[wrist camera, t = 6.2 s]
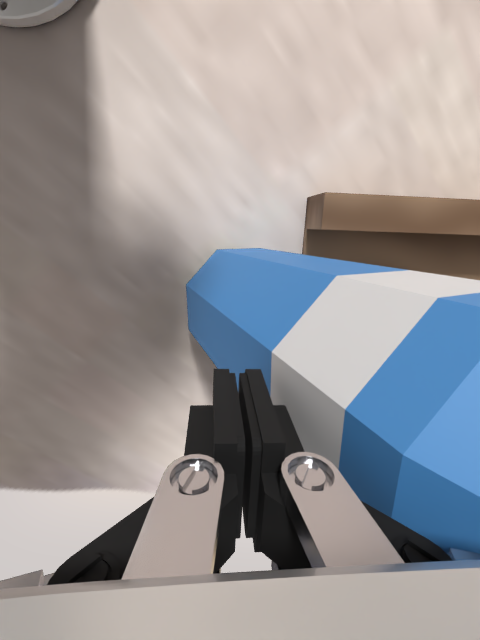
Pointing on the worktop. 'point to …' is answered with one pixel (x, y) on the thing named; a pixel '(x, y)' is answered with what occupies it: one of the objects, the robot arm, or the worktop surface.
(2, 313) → the worktop surface
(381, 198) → the u rest
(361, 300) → the water bottle
